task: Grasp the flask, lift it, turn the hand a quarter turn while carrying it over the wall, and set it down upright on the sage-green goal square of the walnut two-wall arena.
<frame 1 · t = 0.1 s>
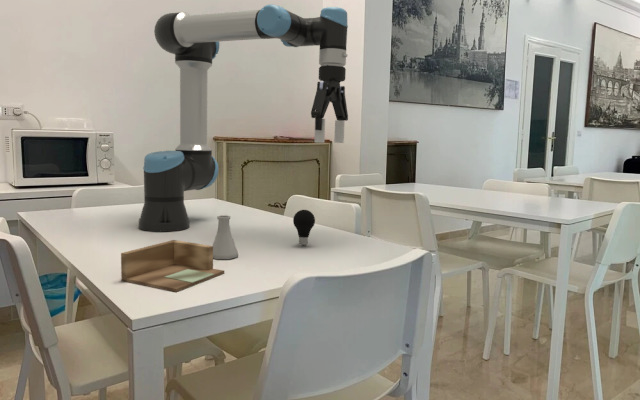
hand: (329, 142, 143), 28 cm above the table, fingers open, 13 cm apart
arena: (174, 276, 104), on the table
flask: (223, 257, 122), on the table
light bulb: (303, 246, 136), on the table
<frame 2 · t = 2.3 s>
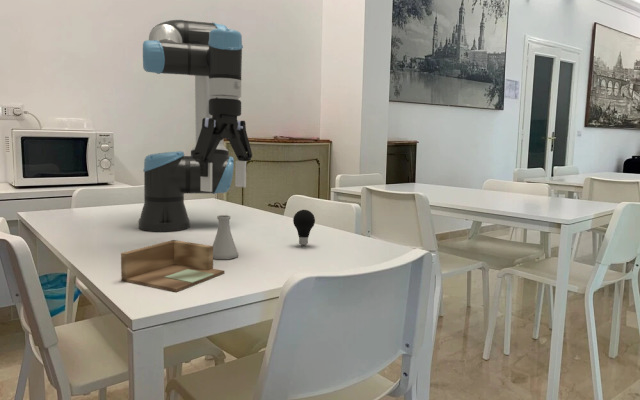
hand: (224, 189, 120), 17 cm above the table, fingers open, 13 cm apart
nothing on the table moved.
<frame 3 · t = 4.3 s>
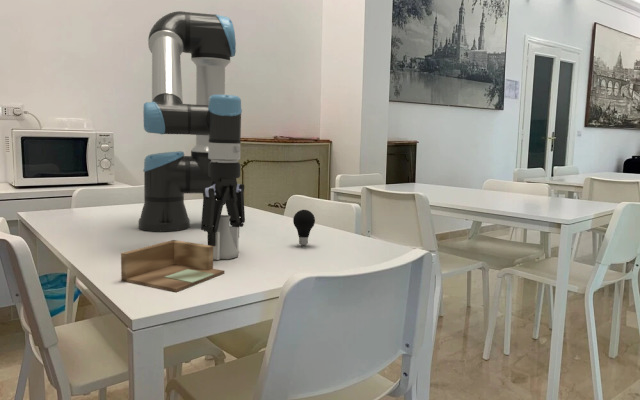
hand: (223, 255, 122), 0 cm above the table, fingers closed on flask, 7 cm apart
flask: (223, 257, 122), on the table, touching gripper
everything else where it was.
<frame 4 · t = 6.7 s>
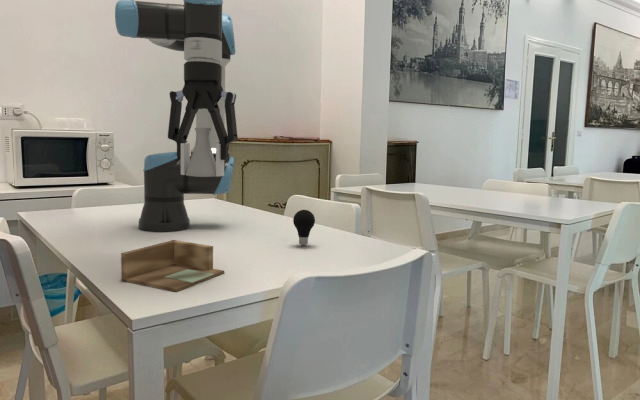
hand: (202, 175, 105), 21 cm above the table, fingers closed on flask, 7 cm apart
flask: (202, 177, 105), point 21 cm above the table, touching gripper
everything else where it was.
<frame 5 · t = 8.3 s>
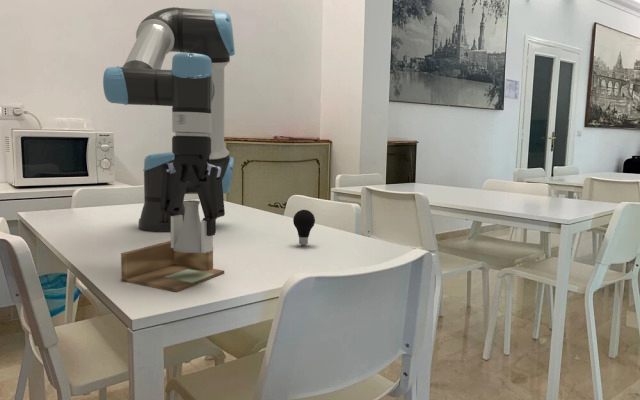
hand: (191, 248, 102), 6 cm above the table, fingers closed on flask, 7 cm apart
flask: (191, 251, 102), point 6 cm above the table, touching gripper
everything else where it was.
when the fingers open (2 cm above the table, at t = 9.4 s): flask stays where it is, resting on arena.
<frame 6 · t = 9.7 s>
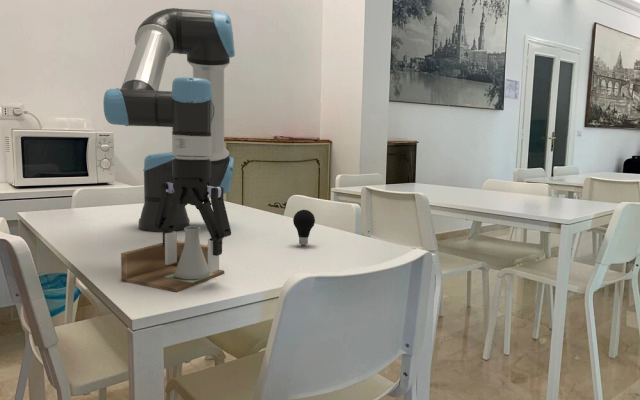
hand: (191, 266, 102), 3 cm above the table, fingers open, 10 cm apart
flask: (192, 276, 103), point 1 cm above the table, touching arena
everything else where it was.
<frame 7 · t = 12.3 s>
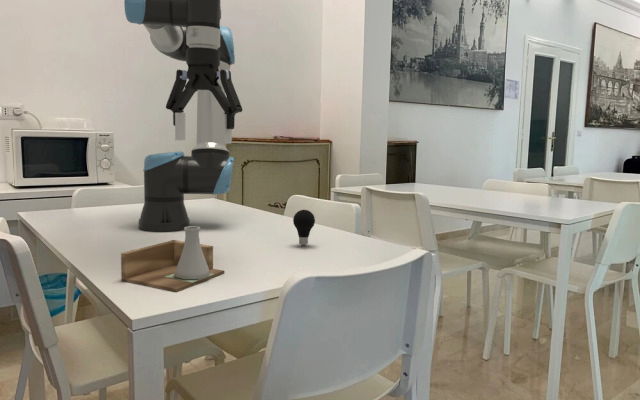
hand: (203, 142, 118), 28 cm above the table, fingers open, 13 cm apart
nothing on the table moved.
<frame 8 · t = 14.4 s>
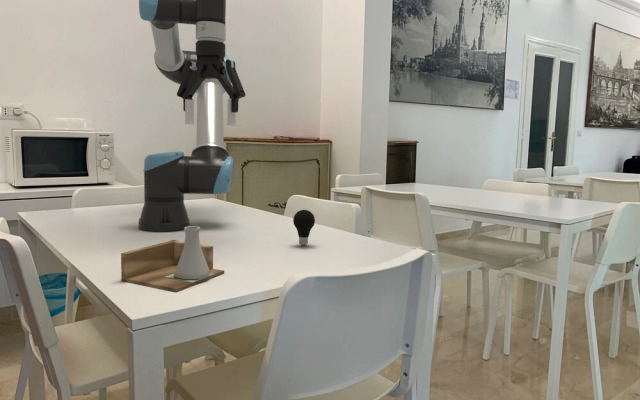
hand: (210, 125, 132), 32 cm above the table, fingers open, 13 cm apart
nothing on the table moved.
at the end: flask inside the target area (0.1 cm from its centre), point 0.5 cm above the table; flask tilted 0°; the gripper is holding nothing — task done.
